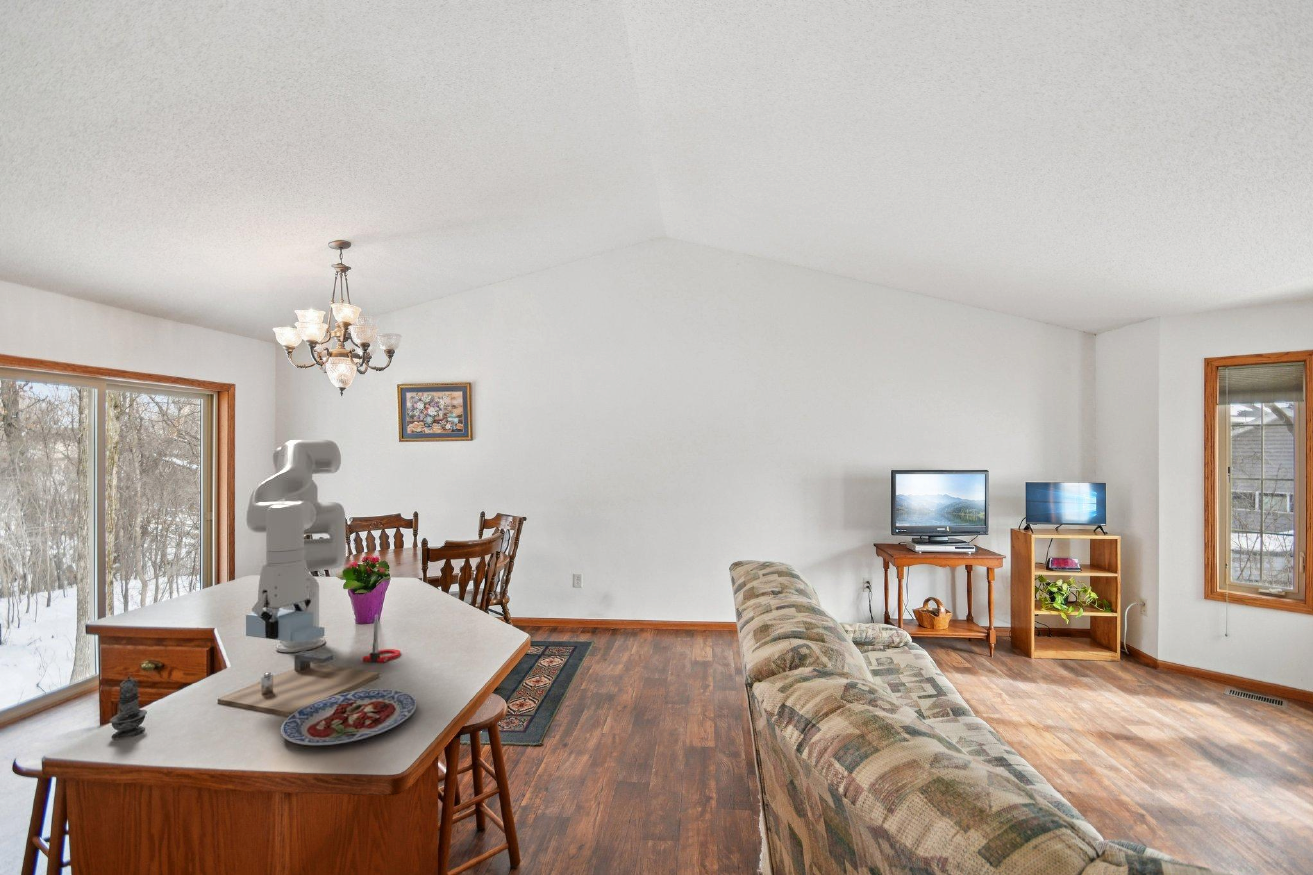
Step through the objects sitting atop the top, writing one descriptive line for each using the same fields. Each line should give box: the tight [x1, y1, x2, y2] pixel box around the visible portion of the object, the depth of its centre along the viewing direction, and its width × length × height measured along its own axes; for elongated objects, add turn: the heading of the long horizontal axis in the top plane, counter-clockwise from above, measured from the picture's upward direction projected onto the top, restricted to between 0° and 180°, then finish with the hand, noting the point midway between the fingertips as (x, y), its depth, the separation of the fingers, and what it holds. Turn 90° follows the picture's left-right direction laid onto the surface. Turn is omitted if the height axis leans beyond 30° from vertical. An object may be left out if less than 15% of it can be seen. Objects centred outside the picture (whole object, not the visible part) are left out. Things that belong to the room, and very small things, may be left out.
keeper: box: [293, 650, 334, 671], centre depth 154 cm, size 10×3×4 cm, turn 71°
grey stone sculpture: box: [109, 675, 148, 740], centre depth 123 cm, size 6×6×12 cm
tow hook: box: [362, 614, 401, 664], centre depth 167 cm, size 8×13×9 cm
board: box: [217, 662, 380, 717], centre depth 145 cm, size 24×24×1 cm
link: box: [245, 608, 325, 643], centre depth 139 cm, size 18×6×5 cm, turn 71°
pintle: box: [260, 671, 274, 695], centre depth 140 cm, size 2×2×5 cm
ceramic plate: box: [280, 688, 417, 746], centre depth 127 cm, size 26×26×3 cm
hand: (285, 632), depth 139 cm, fingers closed on link, 6 cm apart
